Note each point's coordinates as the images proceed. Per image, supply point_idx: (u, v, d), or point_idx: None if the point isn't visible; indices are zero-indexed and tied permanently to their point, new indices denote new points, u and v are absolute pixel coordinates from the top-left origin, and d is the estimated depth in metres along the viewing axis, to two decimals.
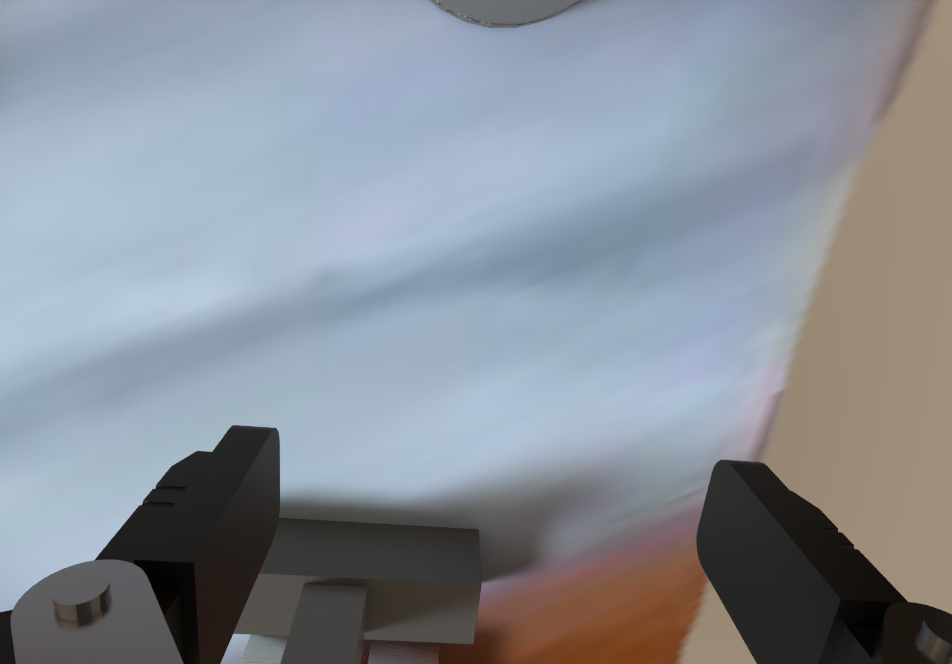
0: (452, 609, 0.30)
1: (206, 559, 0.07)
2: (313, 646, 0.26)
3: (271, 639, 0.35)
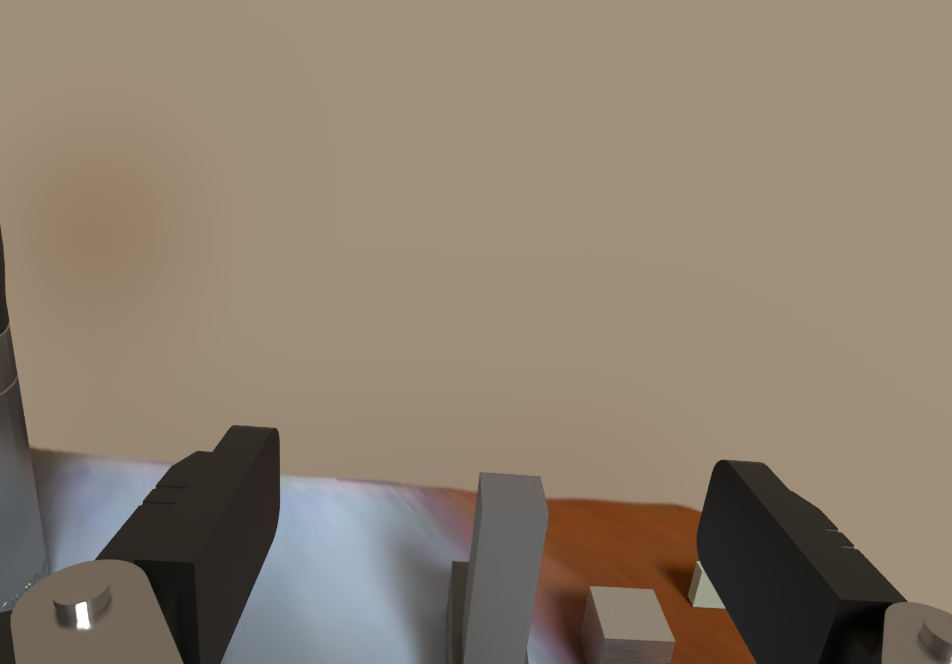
0: None
1: (206, 559, 0.07)
2: (467, 605, 0.30)
3: None
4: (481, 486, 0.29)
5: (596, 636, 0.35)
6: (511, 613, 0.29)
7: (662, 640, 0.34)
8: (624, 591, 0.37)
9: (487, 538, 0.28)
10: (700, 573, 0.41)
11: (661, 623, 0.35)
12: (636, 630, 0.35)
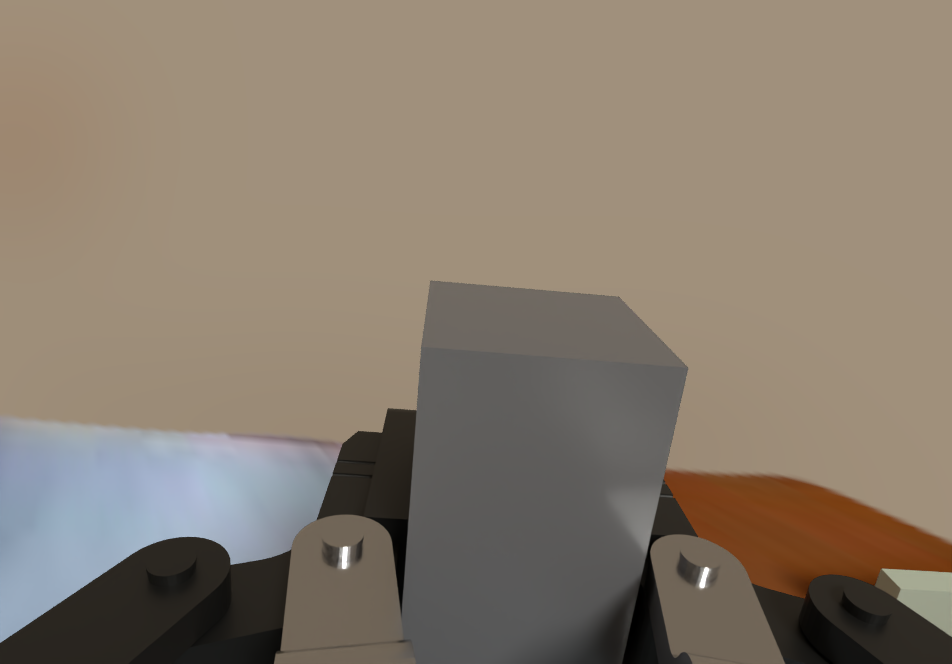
0: None
1: None
2: None
3: None
4: (430, 303, 0.08)
5: None
6: None
7: None
8: None
9: (444, 472, 0.07)
10: (895, 592, 0.21)
11: None
12: None
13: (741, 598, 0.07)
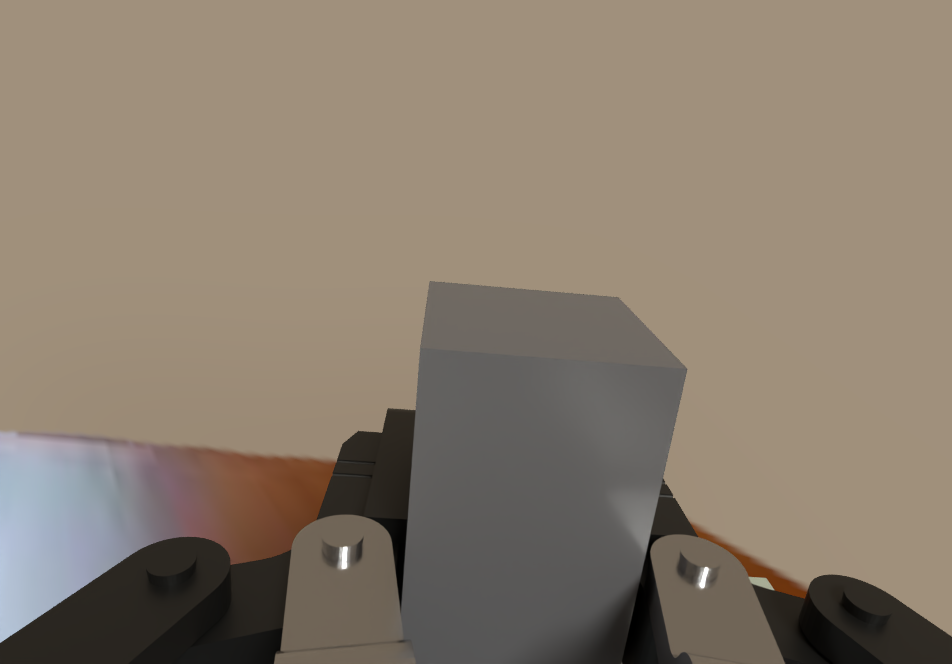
0: None
1: None
2: None
3: None
4: (429, 304, 0.08)
5: None
6: None
7: None
8: None
9: (443, 473, 0.07)
10: None
11: None
12: None
13: (741, 598, 0.07)
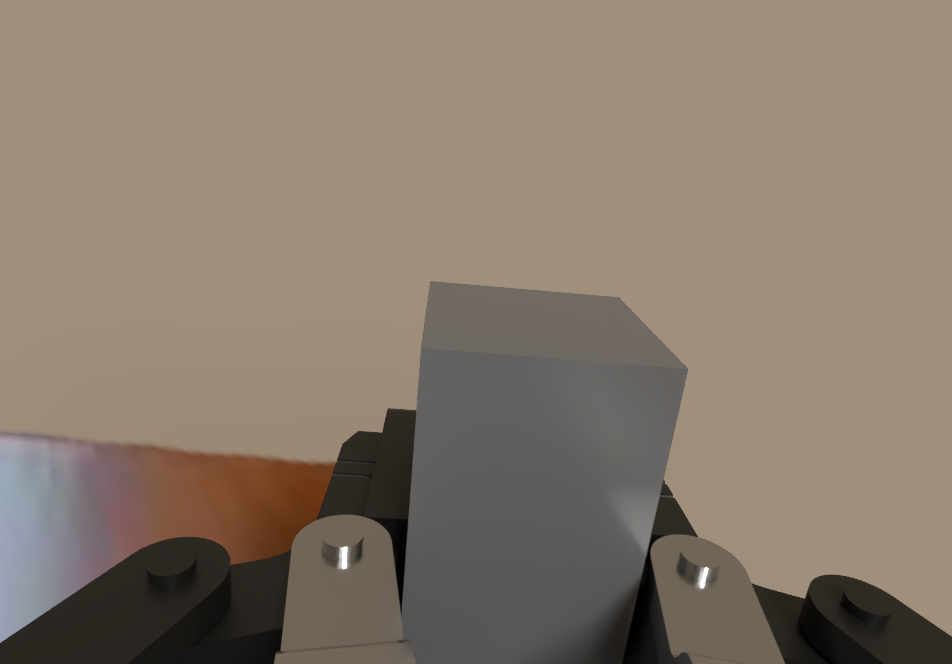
0: None
1: None
2: None
3: None
4: (430, 304, 0.08)
5: None
6: None
7: None
8: None
9: (444, 473, 0.07)
10: None
11: None
12: None
13: (741, 598, 0.07)
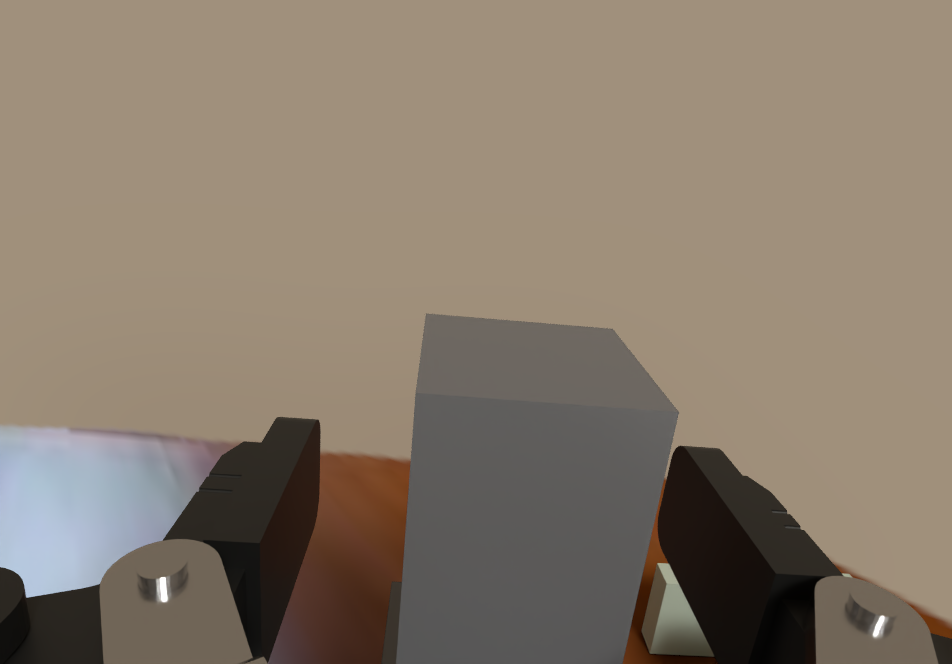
0: None
1: (267, 541, 0.08)
2: None
3: None
4: (425, 341, 0.09)
5: None
6: None
7: None
8: None
9: (439, 513, 0.07)
10: (663, 587, 0.20)
11: None
12: None
13: (930, 651, 0.07)
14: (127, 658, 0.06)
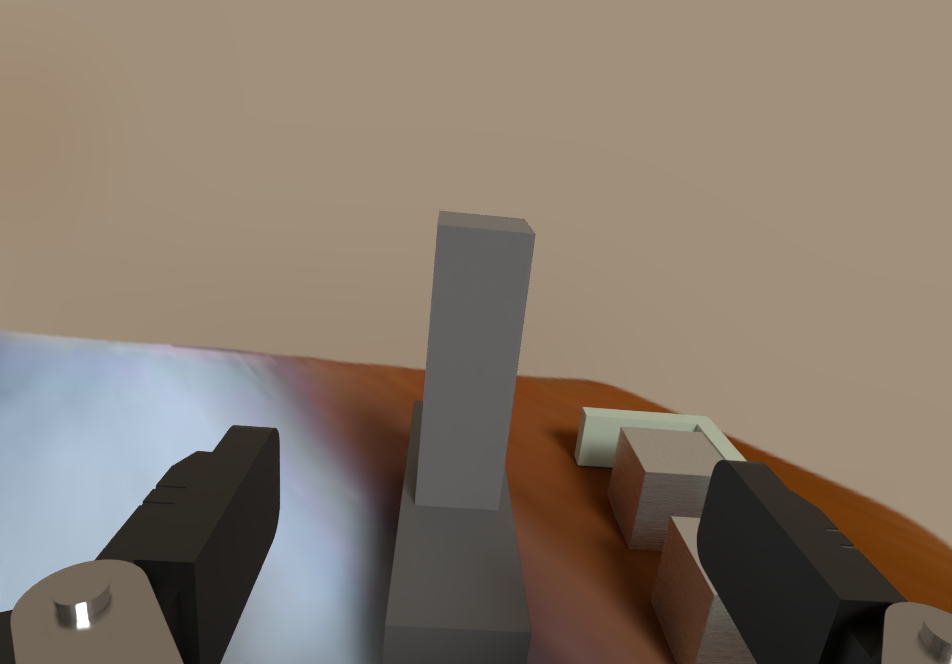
0: None
1: (206, 559, 0.07)
2: None
3: (676, 651, 0.21)
4: (439, 216, 0.20)
5: (632, 478, 0.27)
6: (484, 400, 0.20)
7: None
8: (665, 432, 0.29)
9: (446, 275, 0.19)
10: (585, 419, 0.32)
11: (717, 461, 0.27)
12: (685, 465, 0.26)
13: None
14: None
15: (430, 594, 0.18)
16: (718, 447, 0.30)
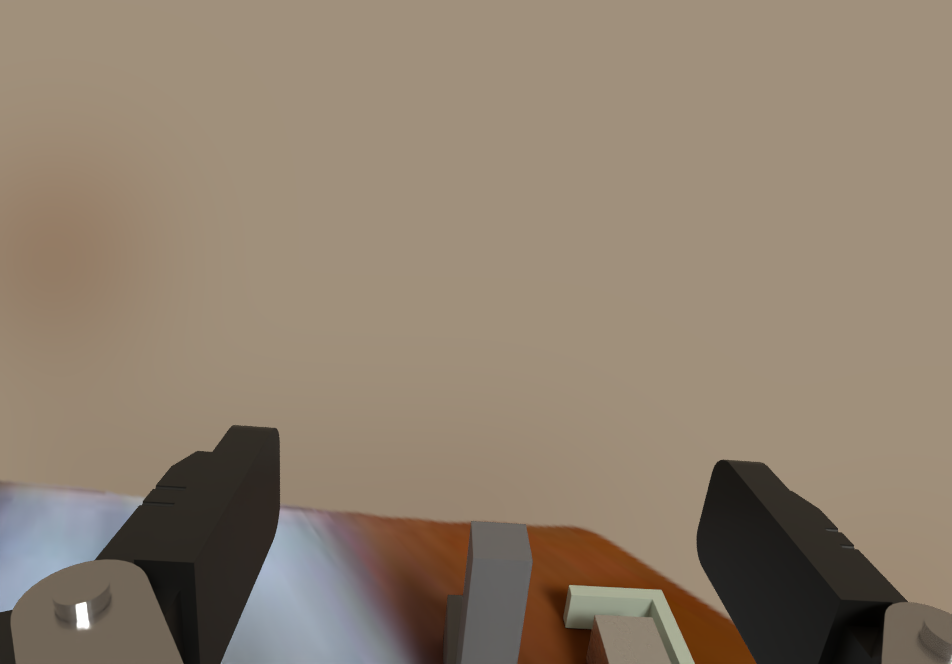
0: None
1: (206, 559, 0.07)
2: (461, 641, 0.34)
3: None
4: (472, 535, 0.32)
5: (601, 661, 0.39)
6: (501, 648, 0.32)
7: None
8: (626, 619, 0.41)
9: (477, 583, 0.31)
10: (570, 596, 0.44)
11: (659, 649, 0.39)
12: (637, 656, 0.38)
13: None
14: None
15: None
16: (665, 625, 0.42)
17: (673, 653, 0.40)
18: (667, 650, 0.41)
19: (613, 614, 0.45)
